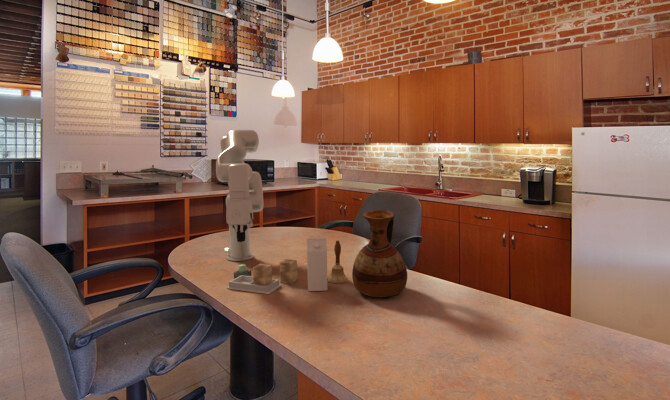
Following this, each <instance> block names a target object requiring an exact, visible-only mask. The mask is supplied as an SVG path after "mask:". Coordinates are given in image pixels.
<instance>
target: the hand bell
mask: <svg viewBox="0 0 670 400" xmlns="http://www.w3.org/2000/svg"><path fill="white" fill-rule="evenodd" d="M341 246H342V245H341V243H340V240H336V241H335V244H334V247H333V248H334V255H335V264H334V265H333V266H332V267H331V273H330V275H329V276H327V283H328V282H329V283H330V284H331V283H332V284H344V283H346V282H348V281H349V279H348V277H347V276H346V274H345V272H344V267H343V266H342V265H341V259H340V256H341V251H342V247H341Z"/></svg>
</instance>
